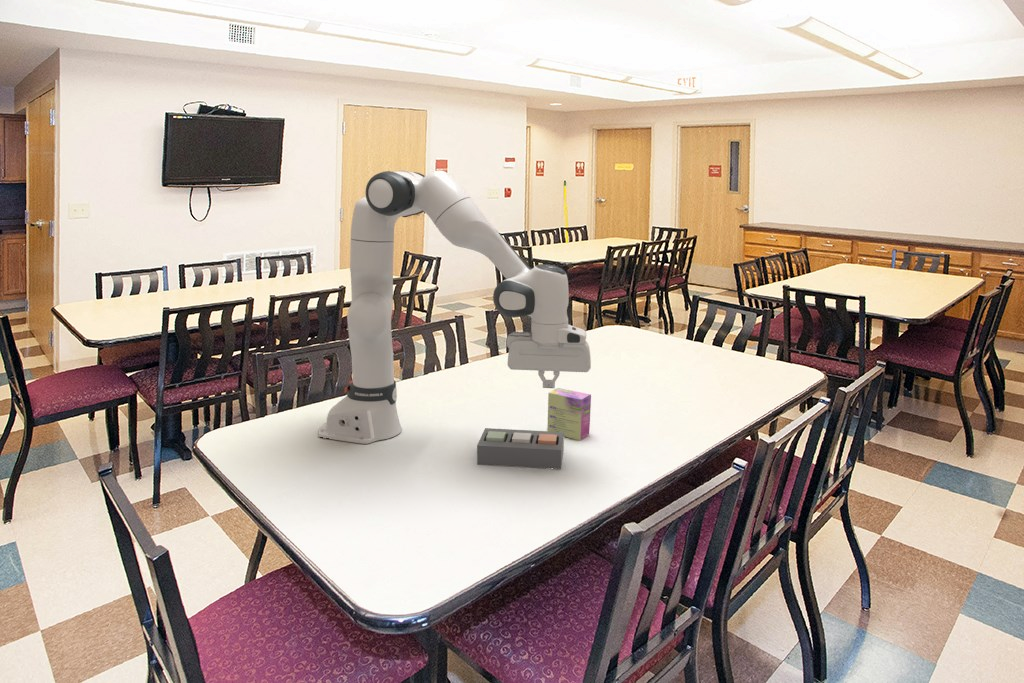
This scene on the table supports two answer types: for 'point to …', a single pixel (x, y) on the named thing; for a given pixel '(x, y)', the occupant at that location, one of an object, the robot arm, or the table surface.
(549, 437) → the key terracotta
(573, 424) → the box
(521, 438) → the key grey
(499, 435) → the key sage
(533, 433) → the keyboard
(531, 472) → the table surface
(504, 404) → the table surface
